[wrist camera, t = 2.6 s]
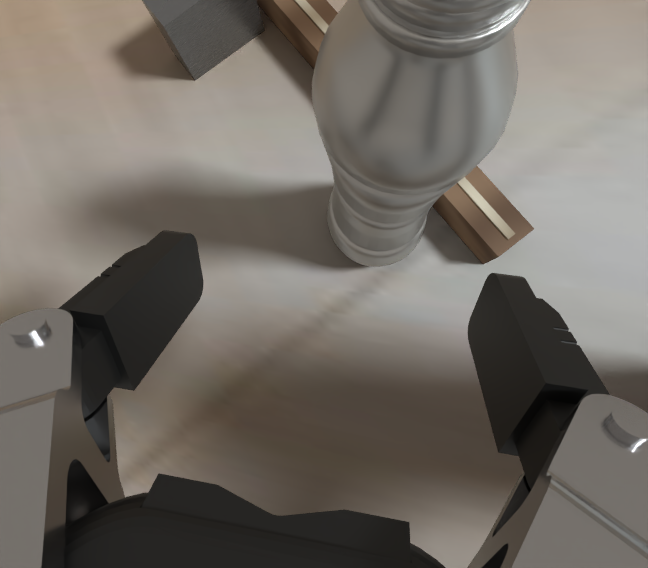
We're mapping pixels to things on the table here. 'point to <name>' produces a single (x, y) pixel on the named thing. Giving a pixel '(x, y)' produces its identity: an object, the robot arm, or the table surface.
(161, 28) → the metal end stop
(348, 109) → the plastic bottle
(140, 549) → the robot arm
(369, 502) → the table surface
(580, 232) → the table surface
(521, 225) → the walnut rail
